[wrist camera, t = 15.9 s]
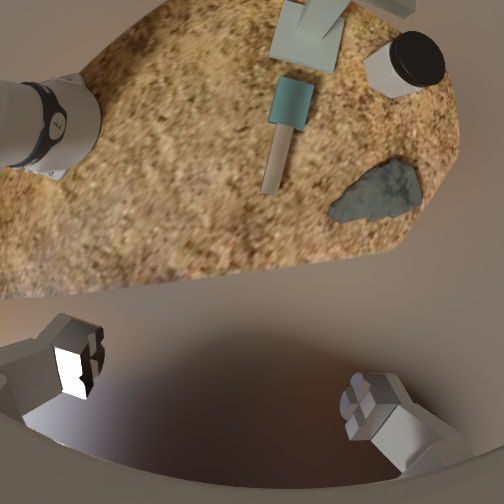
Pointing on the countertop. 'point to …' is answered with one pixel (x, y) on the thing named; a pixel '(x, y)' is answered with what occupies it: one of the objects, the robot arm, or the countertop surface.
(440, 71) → the jar
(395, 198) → the stone
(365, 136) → the countertop surface
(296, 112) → the mallet
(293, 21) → the shelf stand
